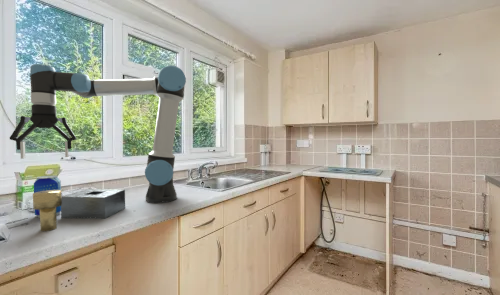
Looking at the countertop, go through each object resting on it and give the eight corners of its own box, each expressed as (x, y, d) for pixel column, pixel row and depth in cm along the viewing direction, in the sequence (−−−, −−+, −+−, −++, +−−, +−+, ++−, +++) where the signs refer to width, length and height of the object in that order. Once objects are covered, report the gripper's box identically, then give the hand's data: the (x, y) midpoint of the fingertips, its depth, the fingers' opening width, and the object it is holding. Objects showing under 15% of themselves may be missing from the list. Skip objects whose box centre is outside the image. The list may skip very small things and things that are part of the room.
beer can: (31, 219, 92) (29, 179, 92) (39, 213, 100) (38, 175, 99) (57, 217, 96) (56, 177, 95) (64, 211, 103) (63, 174, 103)
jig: (125, 208, 108) (124, 189, 107) (105, 218, 94) (104, 197, 93) (86, 207, 108) (86, 189, 108) (61, 217, 94) (60, 196, 94)
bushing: (67, 225, 87) (66, 189, 86) (49, 233, 79) (48, 194, 79) (48, 224, 87) (46, 189, 87) (27, 232, 80) (26, 194, 79)
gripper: (82, 107, 105) (83, 155, 106) (3, 103, 92) (6, 158, 93) (81, 106, 99) (82, 156, 99) (-4, 101, 85) (-1, 159, 86)
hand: (45, 157), depth 96 cm, fingers open, 13 cm apart
